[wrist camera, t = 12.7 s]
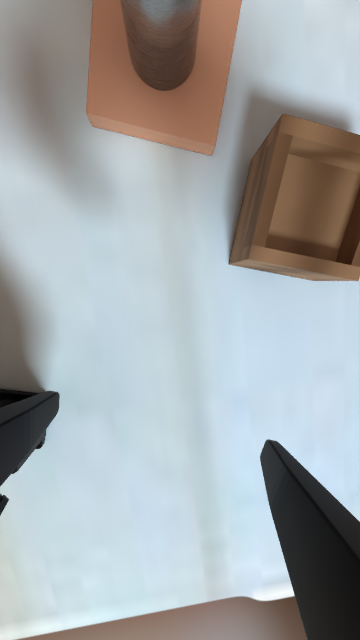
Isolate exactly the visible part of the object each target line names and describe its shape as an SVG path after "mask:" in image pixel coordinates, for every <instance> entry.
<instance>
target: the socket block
mask: <svg viewBox="0 0 360 640" xmlns="http://www.w3.org/2000/svg"><path fill="white" fill-rule="evenodd" d="M229 265H234V266H240V267H245V268H250V269H255V270H260V271H266V272H271V273H276V274H281V275H286V276H292V277H297V278H302V279H307V280H312V281H358V280H359V277H360V135H358V134H354V133H351V132H347V131H344V130H340V129H336V128H333V127H329V126H326V125H322V124H319V123H315V122H312V121H308V120H304V119H301V118H297V117H294V116H290V115H287V114H282V115H281V117H280V118H279V120H278V121H277V123H276V124H275V126H274V127H273V129H272V130H271V132H270V133H269V134H268V136H267V137H266V139H265V140H264V142H263V143H262V145H261V146H260V148H259V149H258V151H257V152H256V153H255V155H254V156H253V158H252V160H251V165H250V169H249V174H248V178H247V183H246V188H245V192H244V197H243V201H242V206H241V211H240V215H239V220H238V224H237V229H236V233H235V238H234V243H233V247H232V252H231V256H230V261H229Z"/></svg>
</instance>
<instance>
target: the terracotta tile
mask: <svg viewBox="0 0 360 640" xmlns="http://www.w3.org/2000/svg"><path fill="white" fill-rule="evenodd" d="M241 2H242V0H202V4H201V12H200V21H199V30H198V39H197V48H196V57H195V63H194V66H193V69H192V71H191V74H190V75H189V77H188V78H187V80H186V81H185V82H184V83H183V84H182V85H180V86H179V87H177V88H175V89H173V90H168V91H161V90H156V89H154V88H152V87H150V86H148V85H147V84H146V83H144V82H143V81H142V80H141V78H140V77H139V76H138V74H137V73H136V71H135V69H134V67H133V65H132V62H131V58H130V53H129V48H128V42H127V37H126V31H125V25H124V20H123V14H122V9H121V3H120V0H93V10H92V27H91V43H90V59H89V75H88V92H87V108H86V114H87V116H88V118H89V120H90V122H91V124H92V126H93V127H97V128H101V129H105V130H109V131H114V132H118V133H122V134H126V135H130V136H134V137H138V138H142V139H146V140H150V141H154V142H158V143H162V144H166V145H170V146H174V147H178V148H182V149H186V150H190V151H194V152H198V153H202V154H206V155H210V156H212V154H213V151H214V148H215V145H216V139H217V134H218V128H219V123H220V117H221V112H222V106H223V101H224V95H225V90H226V85H227V79H228V74H229V68H230V63H231V57H232V52H233V46H234V41H235V35H236V30H237V24H238V19H239V13H240V8H241Z"/></svg>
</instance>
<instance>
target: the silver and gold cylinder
mask: <svg viewBox="0 0 360 640" xmlns="http://www.w3.org/2000/svg"><path fill="white" fill-rule="evenodd" d="M120 3H121V9H122V14H123V20H124V25H125V31H126V37H127V42H128V48H129V53H130V58H131V62H132V65H133V67H134V69H135V71H136V73H137V74H138V76H139V77H140V78H141V80H142V81H143V82H144V83H146V84H147V85H148V86H150V87H152V88H154V89H156V90H161V91H168V90H173V89H175V88H177V87H179V86H180V85H182V84H183V83H184V82H185V81H186V80H187V78H188V77H189V75H190V74H191V71H192V69H193V66H194V63H195V57H196V48H197V39H198V30H199V21H200V12H201V4H202V0H120Z"/></svg>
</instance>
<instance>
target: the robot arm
mask: <svg viewBox="0 0 360 640" xmlns="http://www.w3.org/2000/svg"><path fill="white" fill-rule="evenodd" d="M58 410H59V393H58V392H54V391H46V392H43V393H41V394H37V393H28V392H19V391H10V390H2V389H0V486H1V485H2V484H3V483H4V482H5V480H6V479H7V478H8V477H9V476H10V475H11V474H14V473H15V472H17V471H18V470H19V469H20V467H21V466H22V465H23V464H24V462H25V461H26V460H27V459H28V457H29V456H30V455H31V453H32V452H33V451H34V450H35V449H40V448H41V447H42V446H43V444H44V440H45V436H46V428H47V427H48V426H49V424H50V423H51V422H52V420H53V419H54V417H55V416H56V414H57V413H58ZM260 461H261V466H262V471H263V476H264V481H265V486H266V491H267V496H268V501H269V505H270V509H271V513H272V517H273V520H274V524H275V527H276V531H277V534H278V538H279V541H280V545H281V548H282V552H283V556H284V559H285V563H286V566H287V570H288V573H289V577H290V580H291V584H292V587H293V591H294V594H295V598H296V601H297V605H298V608H299V612H300V615H301V619H302V622H303V626H304V629H305V633H306V636H307V640H360V522H359V521H358V520H357V519H356V518H355V517H354V516H353V515H352V514H351V513H350V512H349V511H348V510H347V509H346V508H345V507H344V506H343V505H342V504H341V503H340V502H339V501H338V500H337V499H336V498H335V497H334V496H333V495H332V494H331V493H330V492H329V491H328V490H327V489H326V488H325V487H324V486H322V485H321V484H320V483H319V482H318V481H317V480H316V479H315V478H314V477H313V476H312V475H311V474H310V473H309V472H308V471H307V470H306V469H305V468H304V467H303V466H302V465H301V464H300V463H299V462H298V461H297V460H296V459H295V458H294V457H293V456H292V455H291V454H290V453H289V452H288V451H287V450H286V449H285V448H284V447H283V446H282V445H281V444H280V443H278V442H277V441H274V440H269V439H268V440H266V442H265V444H264V447H263V449H262V452H261V456H260ZM8 501H9V499H8V498H7V497H6V496H5V495H3V496H2V495H1V494H0V515H1V513H2V511H3V510H4V508H5V506H6V504H7V502H8Z"/></svg>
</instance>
